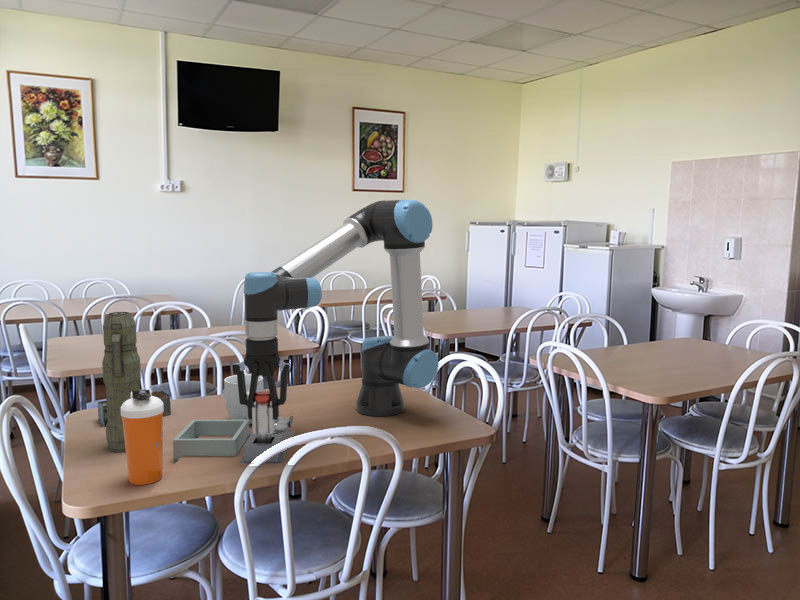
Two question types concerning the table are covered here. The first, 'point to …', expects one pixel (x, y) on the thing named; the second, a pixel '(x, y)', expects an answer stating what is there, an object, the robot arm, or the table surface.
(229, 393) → the mug
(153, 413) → the shaker bottle
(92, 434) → the table surface
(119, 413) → the thermos
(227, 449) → the rectangular frame
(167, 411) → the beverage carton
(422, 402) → the table surface
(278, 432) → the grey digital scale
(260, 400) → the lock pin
